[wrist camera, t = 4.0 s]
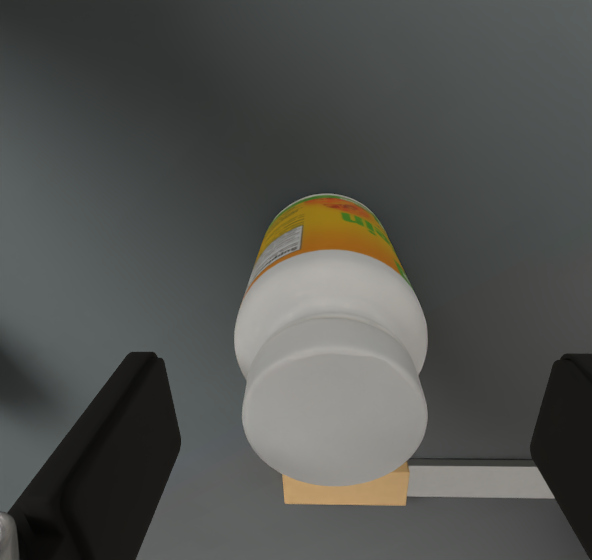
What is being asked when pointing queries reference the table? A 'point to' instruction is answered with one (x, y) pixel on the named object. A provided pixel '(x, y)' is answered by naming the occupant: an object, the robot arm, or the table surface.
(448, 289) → the table surface
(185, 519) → the table surface
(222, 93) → the table surface
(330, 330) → the supplement bottle
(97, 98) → the table surface
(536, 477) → the chisel
